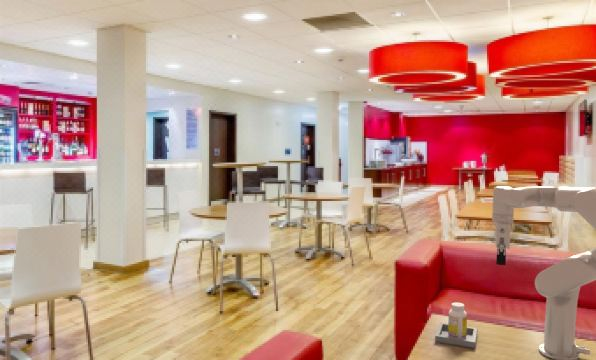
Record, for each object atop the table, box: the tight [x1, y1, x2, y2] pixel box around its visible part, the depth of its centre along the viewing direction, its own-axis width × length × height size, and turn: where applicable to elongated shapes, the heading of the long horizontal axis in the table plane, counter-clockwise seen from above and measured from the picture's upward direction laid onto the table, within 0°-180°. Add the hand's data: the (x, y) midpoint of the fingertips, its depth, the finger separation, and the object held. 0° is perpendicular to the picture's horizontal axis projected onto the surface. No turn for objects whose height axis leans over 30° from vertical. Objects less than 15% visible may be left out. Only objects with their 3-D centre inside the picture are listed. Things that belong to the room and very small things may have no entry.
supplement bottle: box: [447, 301, 468, 339], centre depth 183 cm, size 7×7×13 cm
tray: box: [434, 322, 478, 350], centre depth 184 cm, size 14×14×2 cm
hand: (501, 261), depth 187 cm, fingers open, 9 cm apart
